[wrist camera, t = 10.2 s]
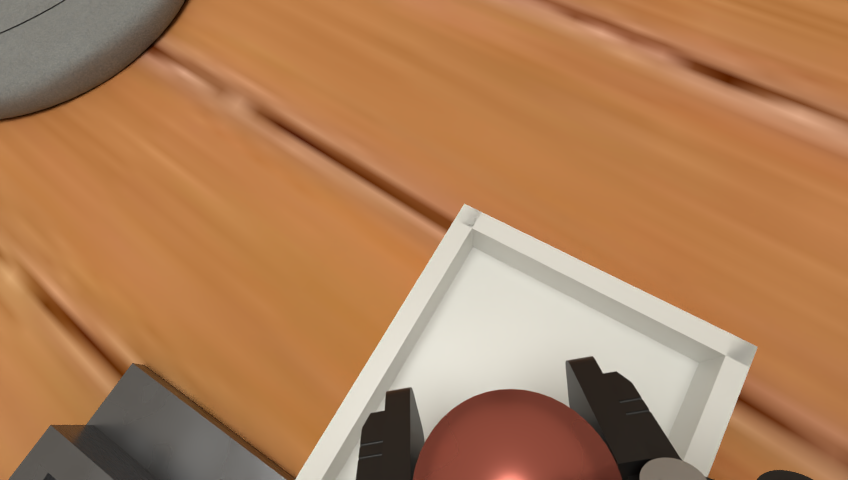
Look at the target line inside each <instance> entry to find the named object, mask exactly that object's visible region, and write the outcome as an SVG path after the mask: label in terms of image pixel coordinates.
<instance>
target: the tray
mask: <svg viewBox="0 0 848 480" xmlns="http://www.w3.org/2000/svg"><path fill="white" fill-rule="evenodd" d="M756 350H757V346H755V345H753V344H751V343H749V342H747V341H745V340H742V339H740V338H738V337H736V336H734V335H732V334H730V333H728V332H726V331H724V330H722V329H720V328H718V327H716V326H714V325H712V324H710V323H708V322H706V321H704V320H701V319H699V318H697V317H695V316H693V315H691V314H689V313H687V312H685V311H683V310H681V309H679V308H677V307H675V306H673V305H671V304H669V303H667V302H665V301H663V300H660V299H658V298H656V297H654V296H652V295H650V294H648V293H646V292H644V291H642V290H640V289H638V288H636V287H634V286H632V285H630V284H628V283H626V282H624V281H622V280H619V279H617V278H615V277H613V276H611V275H609V274H607V273H605V272H603V271H601V270H599V269H597V268H595V267H593V266H591V265H589V264H587V263H585V262H583V261H581V260H578V259H576V258H574V257H572V256H570V255H568V254H566V253H564V252H562V251H560V250H558V249H556V248H554V247H552V246H550V245H548V244H546V243H544V242H542V241H540V240H537V239H535V238H533V237H531V236H529V235H527V234H525V233H523V232H521V231H519V230H517V229H515V228H513V227H511V226H509V225H507V224H505V223H503V222H501V221H499V220H496V219H494V218H492V217H490V216H488V215H486V214H484V213H482V212H480V211H478V210H476V209H474V208H472V207H470V206H468V205H466V204H464V205H463V207H462V209H461V210H460V212H459V213H458V215H457V217H456V218H455V220H454V222H453V223H452V225H451V226H450V228H449V230H448V231H447V233H446V235H445V236H444V238H443V239H442V241H441V243H440V244H439V246H438V248H437V249H436V251H435V253H434V254H433V256H432V257H431V259H430V261H429V262H428V264H427V266H426V267H425V269H424V270H423V272H422V274H421V275H420V277H419V279H418V280H417V282H416V284H415V285H414V287H413V288H412V290H411V292H410V293H409V295H408V297H407V298H406V300H405V301H404V303H403V305H402V306H401V308H400V310H399V311H398V313H397V314H396V316H395V318H394V319H393V321H392V323H391V324H390V326H389V328H388V329H387V331H386V332H385V334H384V336H383V337H382V339H381V341H380V342H379V344H378V345H377V347H376V349H375V350H374V352H373V354H372V355H371V357H370V359H369V360H368V362H367V363H366V365H365V367H364V368H363V370H362V372H361V373H360V375H359V376H358V378H357V380H356V381H355V383H354V385H353V386H352V388H351V389H350V391H349V393H348V394H347V396H346V398H345V399H344V401H343V403H342V404H341V406H340V407H339V409H338V411H337V412H336V414H335V416H334V417H333V419H332V420H331V422H330V424H329V425H328V427H327V429H326V430H325V432H324V434H323V435H322V437H321V438H320V440H319V442H318V443H317V445H316V447H315V448H314V450H313V451H312V453H311V455H310V456H309V458H308V460H307V461H306V463H305V464H304V466H303V468H302V469H301V471H300V473H299V474H298V476H297V478H296V479H295V480H356V473H357V465H358V460H359V457H358V456H359V448H360V439H361V431H362V427H363V425H364V424H365V422H366V420H367V418H368V417H369V415H370V413H373V412H379V411H385V397H386V392H387V391H391V390H397V389H402V388H408V387H412V389H413V393H414V396H415V400H416V404H417V408H418V412H419V416H420V420H421V424H422V428H423V433H424V440H425V441H426V439H427V438H428V436H429V435H430V433H431V431H432V430H433V428H434V427H435V426H436V425H437V424H438V422H439V421H440V420H441V419H442V418H443V417H444V416H445V415H446V414H447V413H448V412H449V411H451V410H452V409H453V408H454V407H456V406H457V405H459V404H460V403H462V402H463V401H465V400H467V399H469V398H471V397H473V396H476V395H479V394H482V393H485V392H489V391H494V390H500V389H520V390H528V391H532V392H537V393H540V394H543V395H546V396H549V397H551V398H553V399H555V400H557V401H559V402H561V403H563V404H565V405H566V406H568V407H569V408H570V406H569V398H568V388H567V377H566V365H565V364H566V360H572V359H578V358H584V357H589V356H593V357H594V358H595V360H596V362H597V363H598V365H599V367H600V369H601V370H602V372H603V373H609V372H615V371H617V372H618V373H620V374H621V375H622V376H624V377H625V378H627V379H628V380H629V381H631V382H632V383H633V385H634V386H635V388H636V389H637V391H638V393H639V394H640V396H641V398H642V400H644V402H645V404H646V405H647V407H648V408H649V411H650V412H651V413H652V414H653V416H654V418H655V419H656V421H657V422H658V424H659V425H660V427H661V429H662V430H663V432H664V433H665V435H666V436H667V438H668V439H669V441H670V443H671V444H672V446H673V447H674V449H675V450H676V452H677V454H678V455H679V457H680V458H681V459H682V461H684V462H687V463H689V464H691V465H692V466H694V467H695V468H697V469H698V470H699V471H700V472H701V473H702V474H703V475H704V476H705V477H708V474H709V472H710V469H711V467H712V464H713V461H714V459H715V456H716V454H717V451H718V448H719V446H720V443H721V441H722V438H723V435H724V433H725V430H726V428H727V425H728V423H729V420H730V417H731V415H732V412H733V410H734V407H735V404H736V402H737V399H738V397H739V394H740V391H741V389H742V386H743V384H744V381H745V378H746V376H747V373H748V371H749V368H750V365H751V363H752V360H753V358H754V355H755V352H756Z"/></svg>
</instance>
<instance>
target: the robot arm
mask: <svg viewBox="0 0 848 480" xmlns="http://www.w3.org/2000/svg"><path fill="white" fill-rule="evenodd" d="M565 365H566V377H567V388H568V398H569V406H570V408H571V409H572V410H574V411H575V412H577V413H578V414H579V415H580V416H581V417H582V418H584V419H585V420H586V421H587V422H588V423H589V424H590V425H591V426H592V427H593V428H594V430H595V431H596V432H597V433H598V434H599V436H600V437H601V438H602V440H603V441H604V442H605V444H606V445H607V447H608V449H609V451H610V452H611V454H612V456H613V458H614V460H615V462H616V464H617V467H618V469H619V471H620V474H621V477H622V480H713V479H710V478H708V477H705V476H704V475H703V474H702V473H701V472H700V471H699V470H698V469H697V468H695V467H694V466H692V465H691V464H689V463H687V462H684V461H682V459H681V458H680V457H679V455H678V454H677V452H676V450H675V449H674V447H673V446H672V444H671V443H670V441H669V439H668V438H667V436H666V435H665V433H664V432H663V430H662V429H661V427H660V425H659V424H658V422H657V421H656V419H655V418H654V416H653V414H652V413H651V412H650V411H649V408H648V407H647V405H646V404H645V402H644V400H642V398H641V396H640V394H639V393H638V391H637V389H636V388H635V386H634V385H633V383H632V382H631V381H629V380H628V379H627V378H625V377H624V376H622V375H621V374H620V373H618V372H617V371H615V372H609V373H603V372H602V370H601V369H600V367H599V365H598V363H597V362H596V360H595V358H594V357H593V356H589V357H584V358H578V359H572V360H566V364H565ZM424 443H425V440H424V433H423V428H422V424H421V420H420V416H419V412H418V408H417V404H416V400H415V396H414V393H413V389H412V387H408V388H402V389H397V390H391V391H387V392H386V397H385V411H379V412H373V413H370V415H369V417H368V418H367V420H366V422H365V424H364V425H363V427H362V431H361V439H360V448H359V456H358V457H359V460H358V465H357V473H356V480H413V475H414V471H415V466H416V463H417V460H418V457H419V454H420V452H421V449H422V447H423V445H424ZM757 480H813V479H811V478H809V477H806V476H804V475H802V474H799V473H795V472H791V471H784V470H774V471H769V472H766V473H764V474H762V475H761V476H760V477H759V478H758V479H757Z"/></svg>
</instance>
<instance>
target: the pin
mask: <svg viewBox="0 0 848 480" xmlns="http://www.w3.org/2000/svg"><path fill="white" fill-rule="evenodd" d="M413 480H622V477H621V474H620V471H619V469H618V467H617V464H616V462H615V460H614V458H613V456H612V454H611V452H610V451H609V449H608V447H607V445H606V444H605V442H604V441H603V440H602V438H601V437H600V436H599V434H598V433H597V432H596V431H595V430H594V428H593V427H592V426H591V425H590V424H589V423H588V422H587V421H586V420H585V419H584V418H582V417H581V416H580V415H579V414H578V413H577V412H575V411H574V410H572V409H571V408H569V407H568V406H566V405H565V404H563V403H561V402H559V401H557V400H555V399H553V398H551V397H549V396H546V395H543V394H540V393H537V392H532V391H528V390H520V389H500V390H494V391H489V392H485V393H482V394H479V395H476V396H473V397H471V398H469V399H467V400H465V401H463V402H462V403H460V404H459V405H457V406H456V407H454V408H453V409H452V410H451V411H449V412H448V413H447V414H446V415H445V416H444V417H443V418H442V419H441V420H440V421H439V422H438V424H437V425H436V426H435V427H434V428H433V430H432V431H431V433H430V435H429V436H428V438H427V439H426V441H425V443H424V445H423V447H422V449H421V452H420V454H419V457H418V460H417V463H416V466H415V471H414V475H413Z"/></svg>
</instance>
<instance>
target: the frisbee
mask: <svg viewBox="0 0 848 480" xmlns="http://www.w3.org/2000/svg"><path fill="white" fill-rule="evenodd" d="M184 1H185V0H0V119H5V118H12V117H16V116H21V115H25V114H29V113H33V112H36V111H39V110H43V109H46V108H49V107H52V106H55V105H57V104H60V103H62V102H65V101H67V100H70V99H72V98H74V97H76V96H78V95H80V94H83V93H85V92H87V91H89V90H91V89H93V88H94V87H96V86H98V85H100V84H102V83H103V82H105V81H107V80H108V79H110V78H111V77H113V76H114V75H116V74H117V73H119V72H120V71H121V70H123V69H124V68H125V67H127V66H128V65H129V64H130V63H131V62H133V61H134V60H135V59H136V58H137V57H138V56H139V55H140V54H142V53H143V52H144V51H145V50H146V49H147V48H148V47H149V46H150V45H151V44H152V43H153V42H154V41H155V40H156V39H157V38H158V37H159V36H160V35H161V34H162V33H163V31H164V30H165V29H166V28H167V27H168V25H169V24H170V23H171V22H172V20H173V19H174V17H175V16H176V14H177V13H178V12H179V10H180V8H181V6H182V5H183V3H184Z"/></svg>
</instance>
